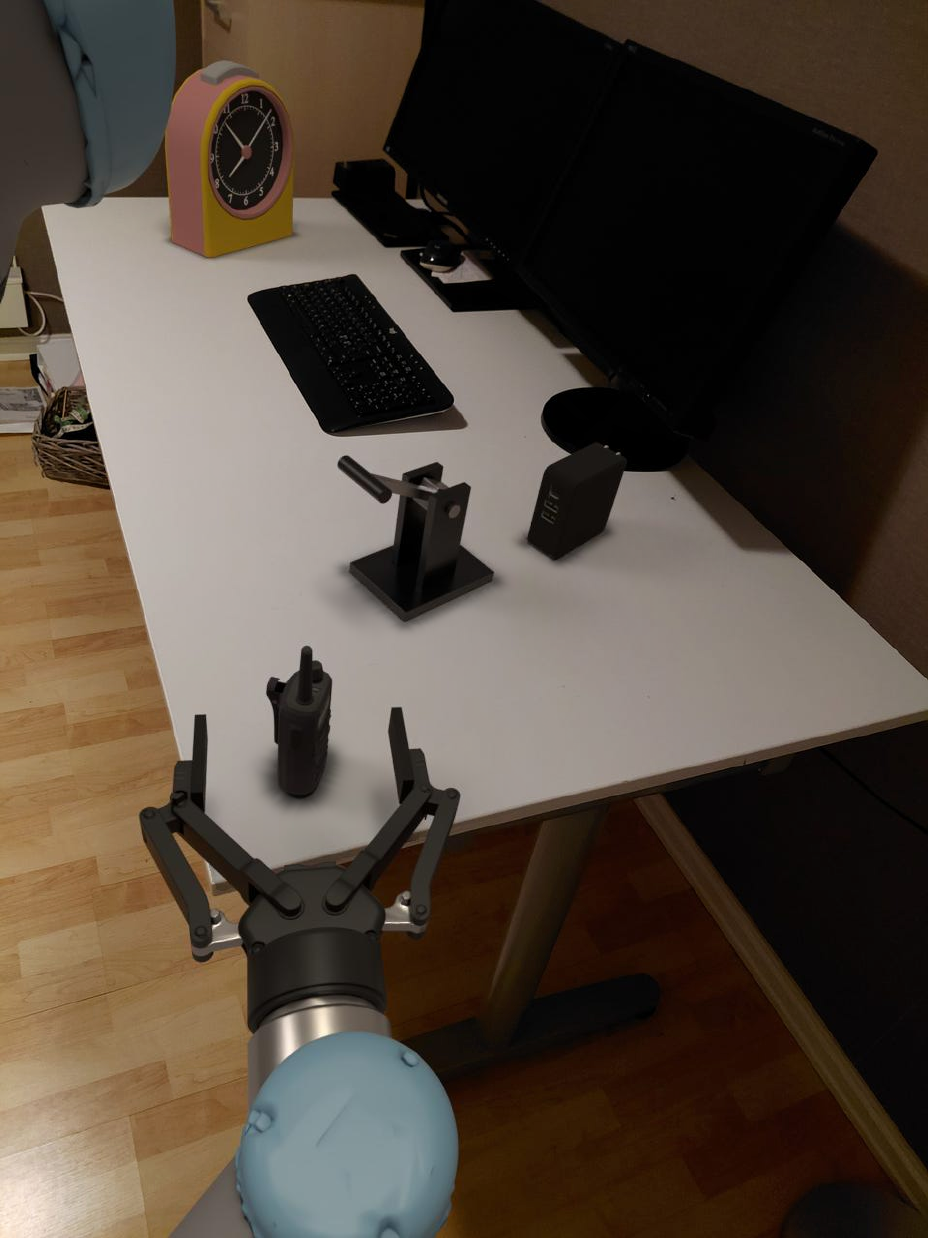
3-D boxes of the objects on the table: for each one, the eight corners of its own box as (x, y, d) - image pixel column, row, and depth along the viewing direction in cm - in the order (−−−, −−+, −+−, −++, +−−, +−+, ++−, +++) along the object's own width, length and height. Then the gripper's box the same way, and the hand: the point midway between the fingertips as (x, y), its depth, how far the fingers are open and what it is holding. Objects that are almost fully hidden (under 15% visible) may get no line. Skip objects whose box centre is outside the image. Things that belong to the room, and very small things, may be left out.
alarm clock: (208, 258, 140) (200, 73, 123) (169, 240, 143) (156, 58, 126) (294, 234, 154) (297, 66, 137) (257, 219, 157) (255, 52, 140)
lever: (373, 507, 71) (386, 482, 70) (332, 472, 74) (344, 448, 73) (457, 524, 81) (469, 502, 80) (417, 493, 84) (429, 471, 83)
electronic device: (525, 542, 95) (544, 466, 88) (577, 512, 101) (599, 439, 94) (553, 561, 93) (575, 485, 86) (605, 530, 99) (629, 456, 92)
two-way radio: (311, 805, 65) (319, 669, 55) (255, 791, 65) (253, 653, 55) (332, 750, 69) (343, 615, 59) (279, 738, 69) (282, 601, 59)
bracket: (404, 622, 82) (418, 523, 74) (348, 571, 86) (357, 473, 78) (492, 580, 89) (514, 486, 81) (437, 535, 93) (452, 442, 85)
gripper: (78, 1085, 45) (120, 764, 60) (526, 1025, 51) (461, 747, 66) (55, 1026, 40) (107, 693, 55) (554, 968, 46) (477, 682, 61)
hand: (300, 722), depth 60 cm, fingers open, 13 cm apart
